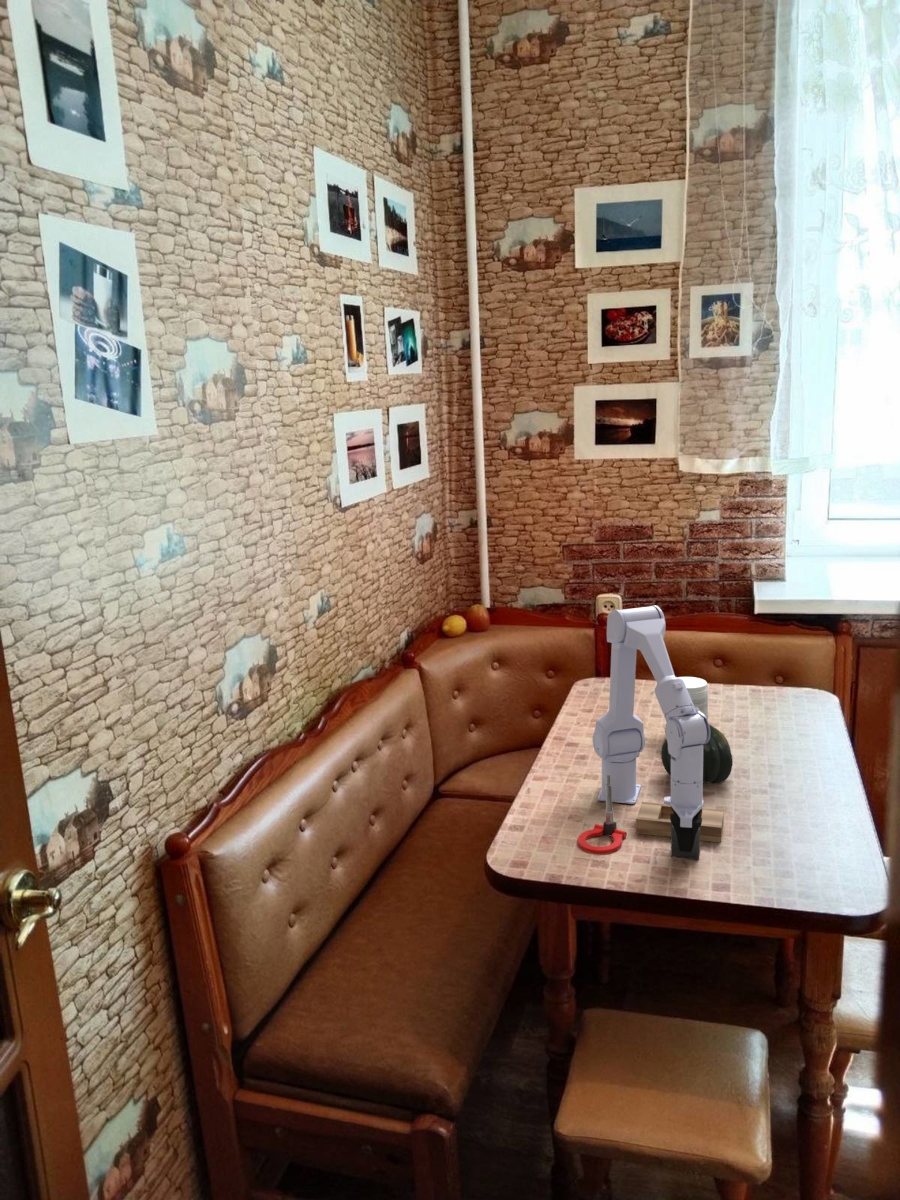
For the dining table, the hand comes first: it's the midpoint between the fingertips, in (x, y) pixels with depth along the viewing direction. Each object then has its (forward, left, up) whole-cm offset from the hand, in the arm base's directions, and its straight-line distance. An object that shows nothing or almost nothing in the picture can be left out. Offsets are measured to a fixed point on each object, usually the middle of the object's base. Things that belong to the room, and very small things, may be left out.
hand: (685, 846), depth 178 cm
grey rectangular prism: (0, 0, -2) cm, 2 cm away
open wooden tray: (-10, -2, -2) cm, 11 cm away
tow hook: (-1, -16, -2) cm, 16 cm away
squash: (-35, -1, -2) cm, 35 cm away
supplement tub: (-59, -5, -2) cm, 59 cm away
